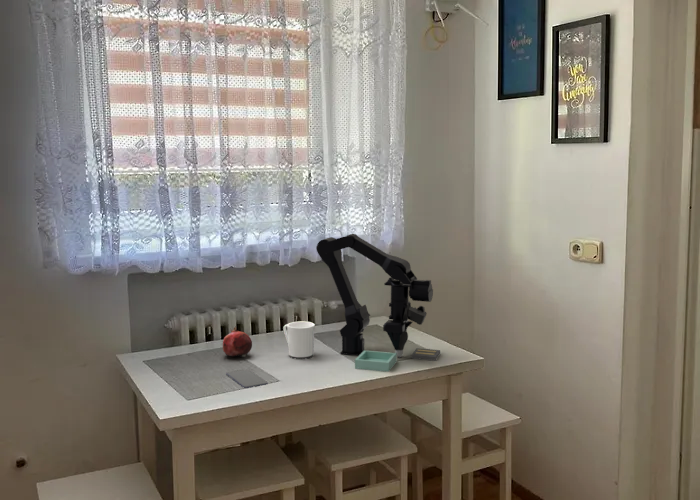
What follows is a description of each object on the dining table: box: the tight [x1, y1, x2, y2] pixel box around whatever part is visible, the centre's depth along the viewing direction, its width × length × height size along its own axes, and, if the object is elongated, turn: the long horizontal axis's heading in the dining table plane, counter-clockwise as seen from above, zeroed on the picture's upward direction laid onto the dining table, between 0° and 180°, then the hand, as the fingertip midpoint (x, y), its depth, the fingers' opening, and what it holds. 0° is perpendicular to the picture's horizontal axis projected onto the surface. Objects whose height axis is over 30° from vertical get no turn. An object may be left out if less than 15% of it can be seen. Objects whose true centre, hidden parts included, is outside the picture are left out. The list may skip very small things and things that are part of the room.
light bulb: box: [394, 330, 409, 359], centre depth 236 cm, size 6×6×10 cm
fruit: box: [222, 325, 253, 358], centre depth 238 cm, size 9×10×10 cm
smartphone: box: [225, 368, 268, 389], centre depth 216 cm, size 8×1×15 cm
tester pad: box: [410, 347, 441, 361], centre depth 239 cm, size 8×8×1 cm
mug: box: [282, 320, 316, 360], centre depth 239 cm, size 11×9×10 cm
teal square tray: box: [354, 349, 398, 373], centre depth 229 cm, size 11×11×3 cm
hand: (399, 346), depth 237 cm, fingers open, 6 cm apart
